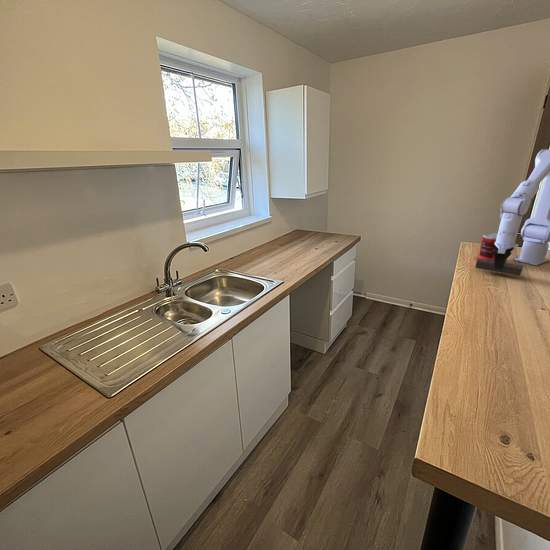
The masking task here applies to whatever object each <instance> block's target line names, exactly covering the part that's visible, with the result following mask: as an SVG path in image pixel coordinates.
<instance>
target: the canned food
mask: <svg viewBox="0 0 550 550" xmlns="http://www.w3.org/2000/svg"><path fill="white" fill-rule="evenodd" d="M497 234H498V233H496V232H495V233H493V232H487V233H484V234H483V235H482V239H481V243H480V248H479V252H478V256H477V260H478V259H486V260H492V261H494V255H493V249H496V248H495V246H496V245H495V242H496V238H497Z"/></svg>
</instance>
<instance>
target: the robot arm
mask: <svg viewBox="0 0 550 550" xmlns="http://www.w3.org/2000/svg"><path fill="white" fill-rule="evenodd" d="M544 179H545V181H544V184H543V188H542V191H541V194H540V196H539V199H538V204H537V207H536V211H535V212H534V213H535V214H534V216H532V217H529V218H528V219H526V220H525V222H524V224H523V226H522V228H521V230H520V226H521V224H522V223H521V222H522V221H523V220H522V219H523V216H524V215H526V213H527V212H528V210H529V208H530V205H531V203H532V202H531V201H532V199H533V198H534V197H535V195H536V194H537V193H538V191H539V190H540V185H539V184H541V183H542V181H543V180H544ZM499 210H500V215H499V218H500V222H499V227H498V231H497V233H496V234H497V238H496V242H495V245H496V246H495V248H496V249H493V255H494V268H496V269H502V267H503V265H504V263H506V261H507V260H508V259H509V257H511V255H512V254H513V252H512V251H513V250H514V249H515V248H519V246H520V245H519V244H518V243H516V241H517V237H518V233H519V230H520V236H521V237H522V240H523V243H522V246H521V251H520V254H519V257H516V258H514V261H516V262H520V263H525V264H529V265H534V266H538V265H541V264H543V263H545V262H547V261H548V259H546V257H547V254H548V250H549V248H550V246H549V245H550V244H549V243H550V149H546V148H543V149H540V150H539V152H538V153H537V154H536V156H535V159H534V168H533V170H532V172H531V174H530V175H529V177H528V178H527V180H523V181H522V182H520V184H519V185H518V186H517V188H516V190H515V191H514V192H513V193H512V194H511V195H510V197H508V198H505V199H503V201H502V203H501V205H500V209H499Z"/></svg>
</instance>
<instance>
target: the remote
mask: <svg viewBox="0 0 550 550" xmlns="http://www.w3.org/2000/svg"><path fill="white" fill-rule="evenodd" d="M523 268H524V265H522V264H516V263H509V262H505V263H504V265H503V267H502V269H496V268H494V261H492V260H486V259H478V258H477V260H476V263H475V269H479V270H485V271H490V272H496V273H501V274H508V275H512V276H513V275H514V276H519V277H520V276H521V275H522V272H523Z"/></svg>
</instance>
